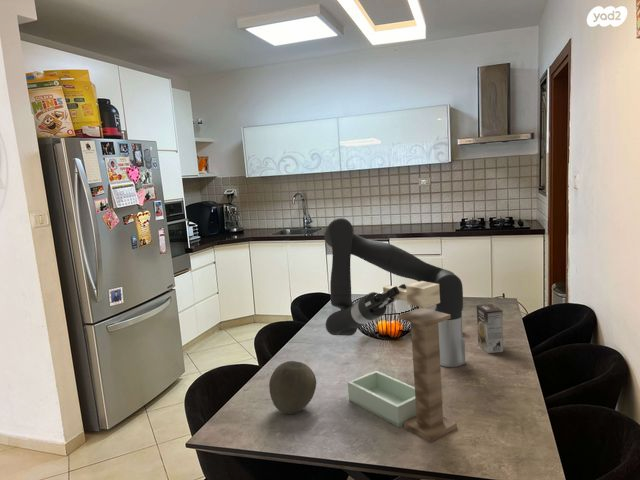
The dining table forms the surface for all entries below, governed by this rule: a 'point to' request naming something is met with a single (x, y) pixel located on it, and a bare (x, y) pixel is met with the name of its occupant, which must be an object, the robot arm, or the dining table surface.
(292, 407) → the cantaloupe
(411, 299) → the peg
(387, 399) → the open box
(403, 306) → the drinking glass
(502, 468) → the dining table surface
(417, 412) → the shelf stand
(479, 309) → the coffee box
